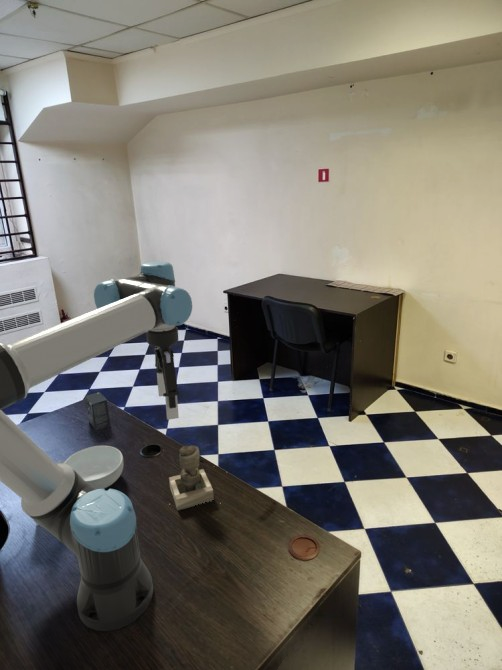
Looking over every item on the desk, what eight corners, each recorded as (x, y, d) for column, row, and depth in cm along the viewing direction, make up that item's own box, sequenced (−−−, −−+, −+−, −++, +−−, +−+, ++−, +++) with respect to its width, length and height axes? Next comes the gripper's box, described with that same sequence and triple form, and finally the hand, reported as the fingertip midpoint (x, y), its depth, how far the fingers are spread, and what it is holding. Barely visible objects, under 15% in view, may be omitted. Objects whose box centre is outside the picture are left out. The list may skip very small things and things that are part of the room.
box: (88, 421, 163) (84, 395, 160) (103, 416, 166) (100, 391, 163) (95, 430, 157) (90, 403, 154) (111, 425, 160) (107, 399, 157)
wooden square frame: (213, 500, 121) (213, 489, 120) (177, 510, 118) (176, 499, 117) (204, 479, 130) (203, 468, 129) (169, 487, 127) (168, 477, 126)
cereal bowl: (56, 481, 131) (52, 460, 129) (110, 458, 141) (107, 439, 139) (78, 510, 119) (74, 488, 116) (135, 483, 129) (133, 462, 127)
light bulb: (205, 491, 124) (203, 445, 119) (193, 503, 120) (190, 455, 115) (190, 484, 127) (186, 439, 122) (177, 495, 122) (173, 449, 117)
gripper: (187, 340, 97) (193, 426, 104) (168, 312, 120) (174, 384, 127) (153, 344, 95) (160, 432, 102) (140, 315, 118) (147, 388, 124)
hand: (168, 406), depth 114 cm, fingers open, 13 cm apart
